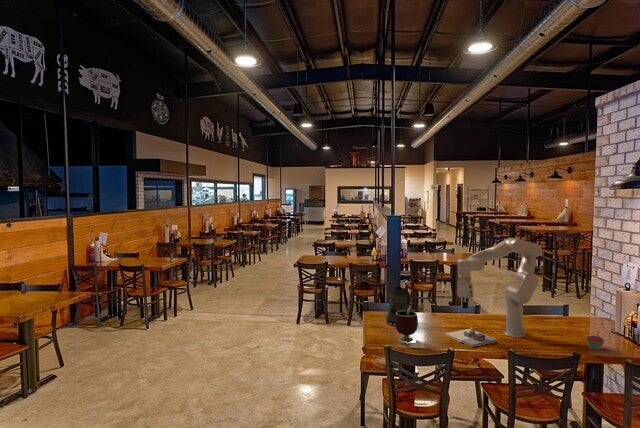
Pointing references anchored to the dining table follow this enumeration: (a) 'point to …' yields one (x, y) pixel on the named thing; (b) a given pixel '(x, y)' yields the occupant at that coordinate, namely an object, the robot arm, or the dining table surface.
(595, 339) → the cupcake
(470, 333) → the bolt
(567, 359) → the dining table surface
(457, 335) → the grey flat board
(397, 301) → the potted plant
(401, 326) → the mate gourd
